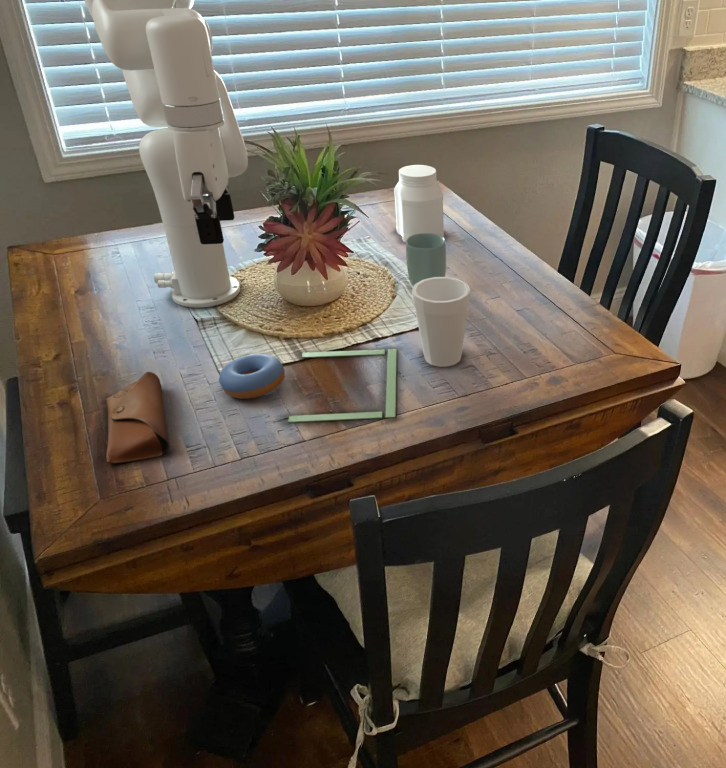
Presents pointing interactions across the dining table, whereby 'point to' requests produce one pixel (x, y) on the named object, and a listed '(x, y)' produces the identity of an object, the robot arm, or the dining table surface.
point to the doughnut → (252, 376)
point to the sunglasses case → (137, 422)
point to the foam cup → (441, 318)
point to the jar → (418, 202)
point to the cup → (425, 256)
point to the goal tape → (364, 415)
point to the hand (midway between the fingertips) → (218, 231)
